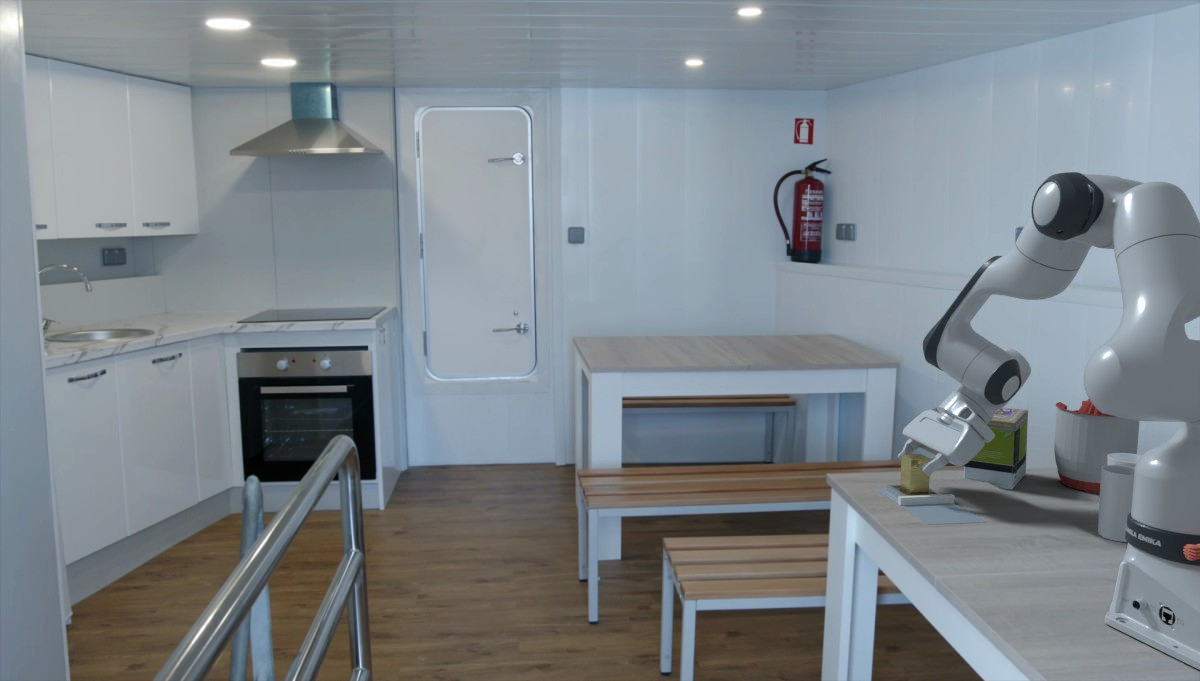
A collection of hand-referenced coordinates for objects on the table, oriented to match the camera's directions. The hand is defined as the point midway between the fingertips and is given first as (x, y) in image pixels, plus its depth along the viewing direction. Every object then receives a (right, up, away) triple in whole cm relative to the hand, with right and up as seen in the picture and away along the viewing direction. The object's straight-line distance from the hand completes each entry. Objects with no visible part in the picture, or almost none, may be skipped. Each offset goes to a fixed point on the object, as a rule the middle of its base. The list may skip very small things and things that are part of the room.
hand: (912, 466), depth 172 cm
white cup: (+41, -8, -3) cm, 41 cm away
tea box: (+24, -5, +16) cm, 29 cm away
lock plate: (+1, -8, -4) cm, 9 cm away
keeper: (+1, -7, +1) cm, 7 cm away
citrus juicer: (+42, -6, +12) cm, 44 cm away
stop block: (+1, -6, +1) cm, 6 cm away
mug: (+30, -10, -18) cm, 36 cm away
